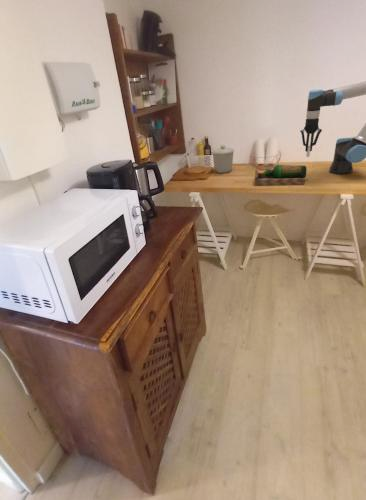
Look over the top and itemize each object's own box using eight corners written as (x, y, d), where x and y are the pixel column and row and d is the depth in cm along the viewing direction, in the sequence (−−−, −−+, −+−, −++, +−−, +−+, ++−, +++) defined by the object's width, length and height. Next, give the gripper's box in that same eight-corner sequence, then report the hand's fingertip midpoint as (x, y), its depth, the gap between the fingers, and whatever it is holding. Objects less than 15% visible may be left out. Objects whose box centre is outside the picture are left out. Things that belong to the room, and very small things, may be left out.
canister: (239, 170, 240) (239, 143, 229) (224, 175, 230) (224, 148, 219) (222, 167, 252) (221, 141, 241) (208, 172, 242) (206, 146, 231)
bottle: (307, 164, 194) (264, 165, 201) (306, 180, 197) (263, 181, 204) (305, 164, 204) (263, 165, 211) (303, 179, 207) (263, 180, 214)
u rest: (300, 176, 210) (301, 168, 207) (303, 184, 196) (304, 175, 193) (255, 178, 218) (255, 170, 215) (254, 185, 204) (254, 177, 201)
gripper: (322, 116, 184) (317, 154, 196) (300, 117, 187) (296, 155, 199) (324, 118, 177) (319, 157, 189) (302, 119, 180) (297, 158, 192)
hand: (307, 156), depth 194 cm, fingers closed
